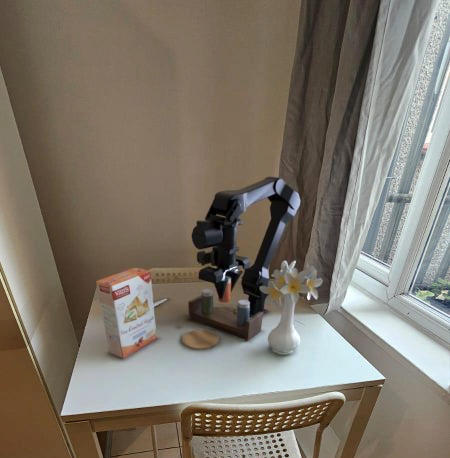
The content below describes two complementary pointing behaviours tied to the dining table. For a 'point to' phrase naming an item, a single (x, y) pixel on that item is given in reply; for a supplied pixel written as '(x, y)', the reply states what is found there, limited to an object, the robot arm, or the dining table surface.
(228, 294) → the terracotta shaker
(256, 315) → the spice shelf
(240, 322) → the cylinder
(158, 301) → the butter knife
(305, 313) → the dining table surface
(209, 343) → the cork trivet
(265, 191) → the robot arm
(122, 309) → the cracker box
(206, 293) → the cylinder
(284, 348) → the flower vase
